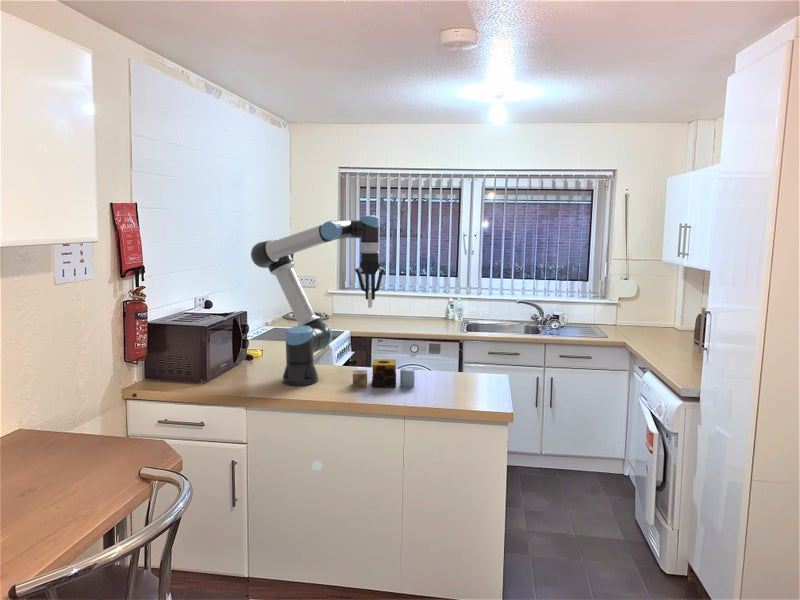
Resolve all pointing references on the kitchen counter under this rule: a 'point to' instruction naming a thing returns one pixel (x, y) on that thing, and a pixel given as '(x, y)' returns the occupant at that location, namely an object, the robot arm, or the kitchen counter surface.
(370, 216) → the robot arm
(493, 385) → the kitchen counter surface
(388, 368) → the candle
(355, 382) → the brown jar
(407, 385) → the blue cylinder
